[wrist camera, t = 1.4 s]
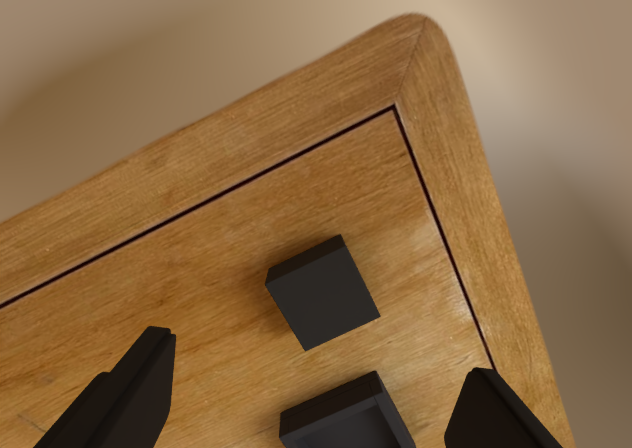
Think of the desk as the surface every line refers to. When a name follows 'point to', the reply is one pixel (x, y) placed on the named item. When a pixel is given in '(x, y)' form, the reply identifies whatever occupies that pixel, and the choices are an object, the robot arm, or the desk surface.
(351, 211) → the desk surface
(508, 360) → the desk surface
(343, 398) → the socket pad
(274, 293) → the black pad
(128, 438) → the robot arm
